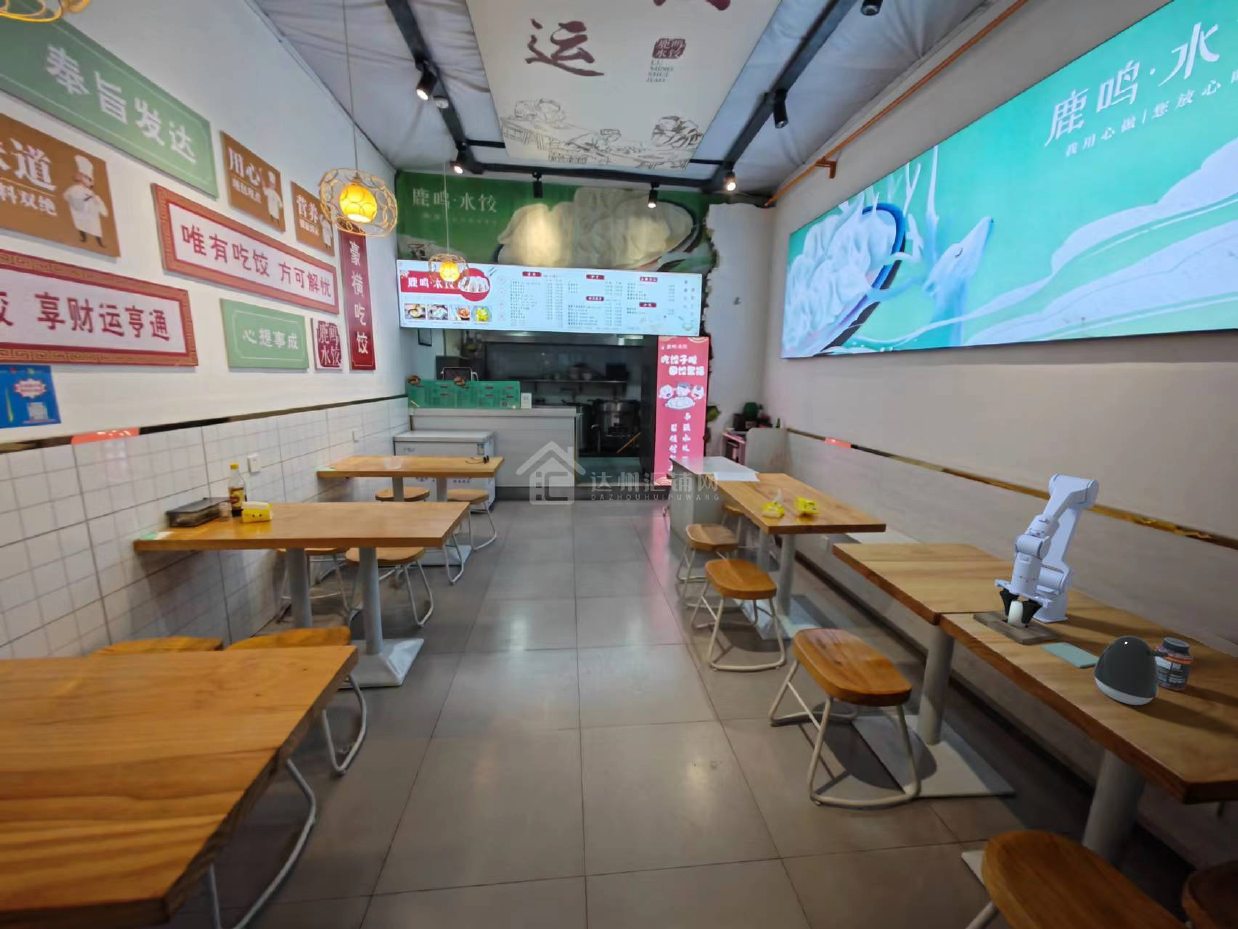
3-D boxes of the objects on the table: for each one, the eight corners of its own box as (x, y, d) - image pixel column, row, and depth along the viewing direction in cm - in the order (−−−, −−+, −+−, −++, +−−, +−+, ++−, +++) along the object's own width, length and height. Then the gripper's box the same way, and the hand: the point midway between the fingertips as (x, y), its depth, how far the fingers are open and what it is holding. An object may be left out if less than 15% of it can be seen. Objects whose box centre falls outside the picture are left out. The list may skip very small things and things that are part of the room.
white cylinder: (1013, 623, 141) (1018, 598, 140) (1027, 630, 138) (1032, 605, 136) (1003, 625, 140) (1007, 600, 139) (1017, 632, 137) (1022, 607, 135)
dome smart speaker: (1141, 718, 103) (1159, 655, 100) (1080, 688, 112) (1095, 630, 109) (1163, 705, 107) (1180, 645, 104) (1102, 678, 116) (1117, 622, 113)
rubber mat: (1065, 643, 131) (1065, 641, 131) (1104, 663, 123) (1105, 661, 122) (1040, 647, 129) (1041, 645, 129) (1079, 667, 120) (1079, 665, 120)
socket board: (1008, 613, 147) (1009, 609, 147) (1058, 638, 134) (1060, 633, 134) (972, 618, 144) (973, 614, 143) (1021, 644, 130) (1022, 639, 130)
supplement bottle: (1166, 677, 117) (1178, 635, 115) (1192, 693, 111) (1205, 650, 109) (1140, 675, 118) (1151, 634, 116) (1164, 691, 112) (1176, 648, 110)
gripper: (989, 566, 142) (982, 608, 144) (1042, 588, 128) (1033, 633, 130) (1008, 564, 143) (1000, 606, 146) (1062, 585, 130) (1052, 630, 132)
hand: (1016, 619), depth 138 cm, fingers closed on white cylinder, 4 cm apart
